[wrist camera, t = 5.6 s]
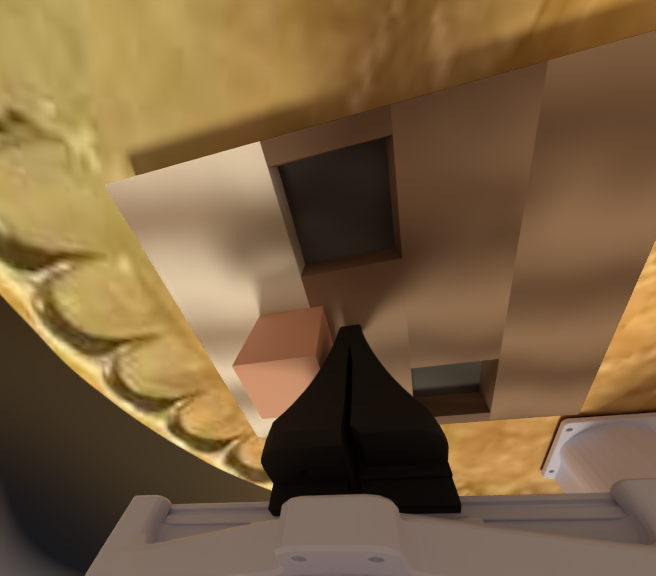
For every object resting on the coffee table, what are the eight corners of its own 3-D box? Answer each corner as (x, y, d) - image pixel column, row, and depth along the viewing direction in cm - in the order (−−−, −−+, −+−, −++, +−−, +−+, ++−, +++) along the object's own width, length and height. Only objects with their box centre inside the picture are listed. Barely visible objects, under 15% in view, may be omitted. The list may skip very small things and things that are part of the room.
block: (336, 355, 15) (334, 412, 12) (279, 362, 16) (262, 418, 12) (322, 305, 14) (315, 355, 10) (259, 316, 14) (231, 366, 11)
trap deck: (556, 390, 18) (578, 414, 17) (265, 415, 22) (258, 437, 20) (678, 33, 9) (760, 0, 7) (137, 182, 13) (104, 185, 11)
